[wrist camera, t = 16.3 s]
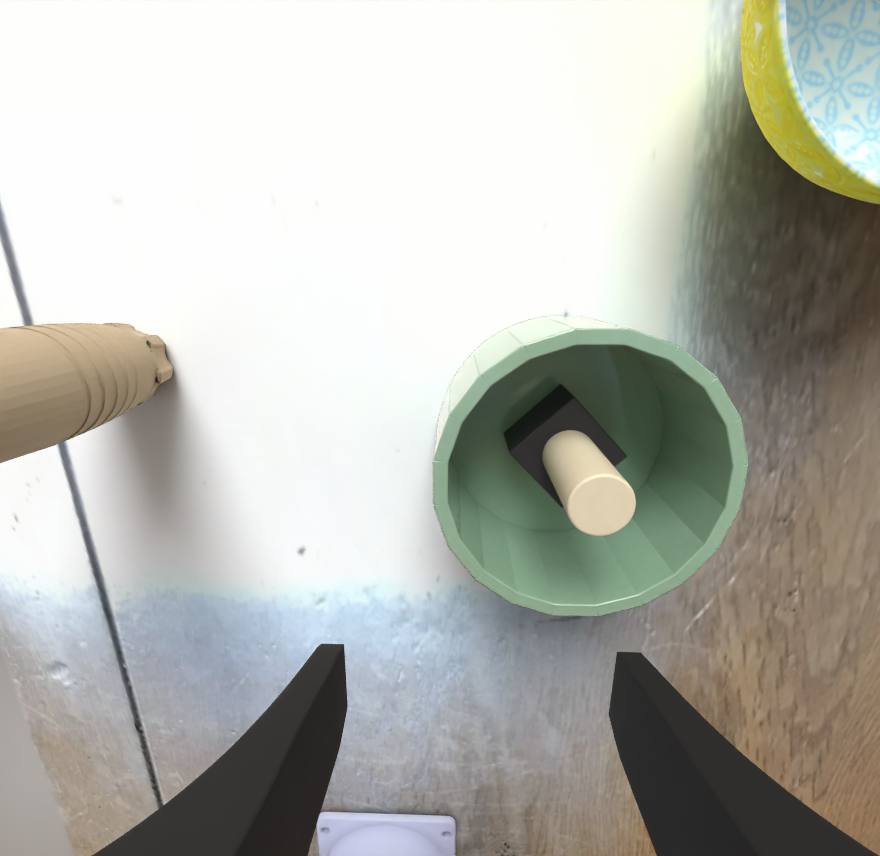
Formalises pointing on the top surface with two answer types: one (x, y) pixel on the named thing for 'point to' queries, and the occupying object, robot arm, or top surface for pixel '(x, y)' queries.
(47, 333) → the handle
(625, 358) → the beaker
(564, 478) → the brush
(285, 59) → the top surface
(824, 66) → the bowl
